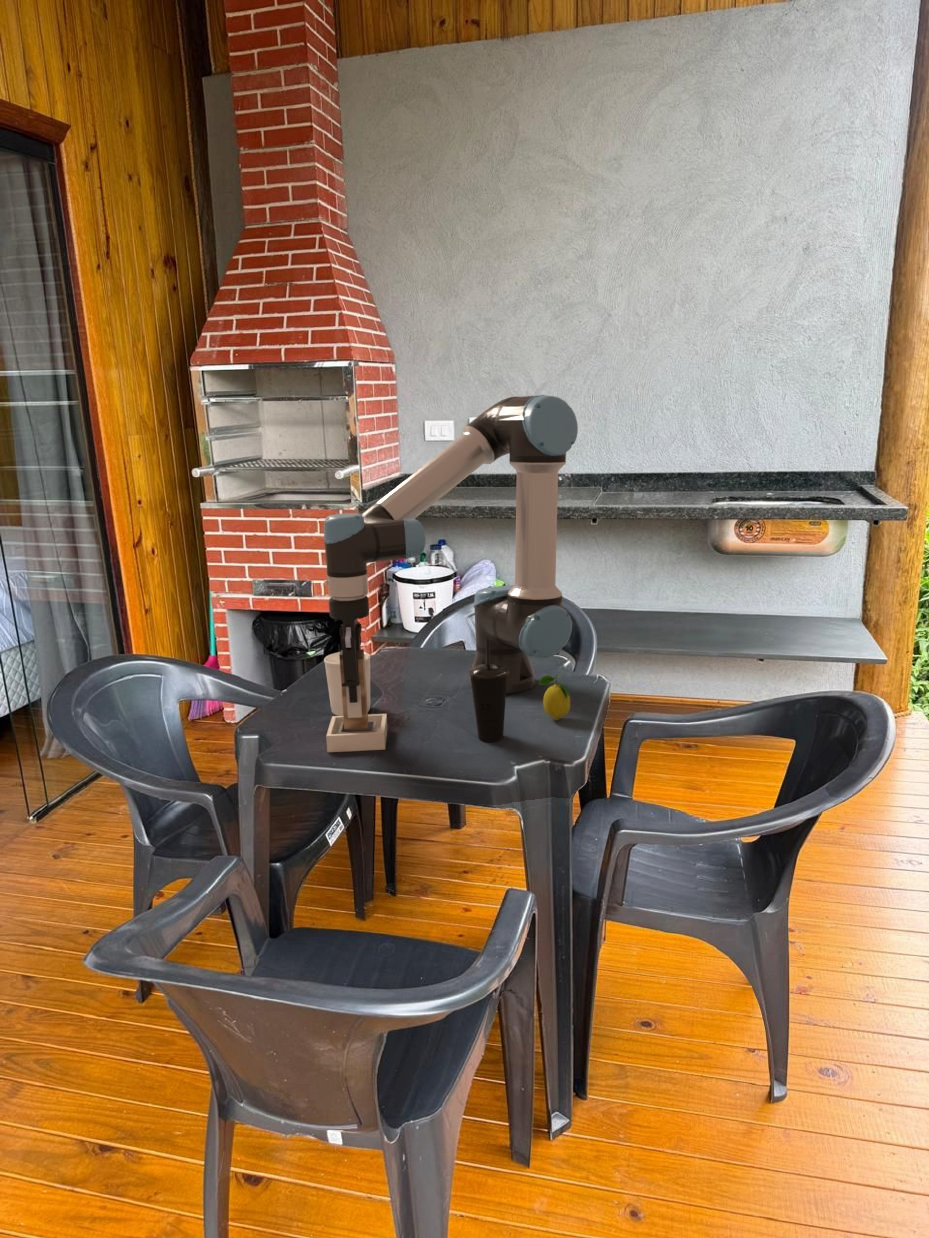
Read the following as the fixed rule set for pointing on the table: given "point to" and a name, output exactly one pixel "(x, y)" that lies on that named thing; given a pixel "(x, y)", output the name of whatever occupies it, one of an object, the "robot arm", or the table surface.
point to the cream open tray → (357, 735)
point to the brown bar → (362, 721)
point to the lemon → (555, 698)
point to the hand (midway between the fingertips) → (355, 713)
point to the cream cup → (335, 681)
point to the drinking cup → (489, 698)
